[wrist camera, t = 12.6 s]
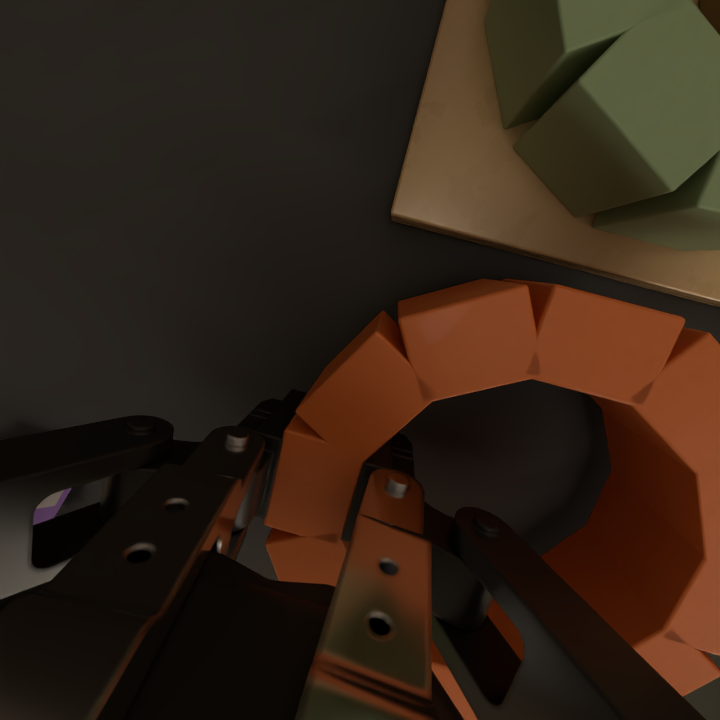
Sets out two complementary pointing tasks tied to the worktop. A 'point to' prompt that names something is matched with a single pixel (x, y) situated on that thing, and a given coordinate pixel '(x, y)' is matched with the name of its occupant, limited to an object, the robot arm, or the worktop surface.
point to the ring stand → (516, 176)
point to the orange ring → (557, 367)
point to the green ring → (616, 110)
